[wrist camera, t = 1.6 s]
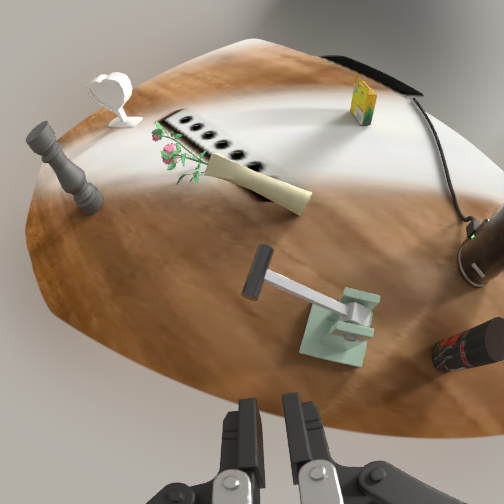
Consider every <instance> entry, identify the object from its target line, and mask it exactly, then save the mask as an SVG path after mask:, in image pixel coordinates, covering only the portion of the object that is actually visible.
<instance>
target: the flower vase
mask: <svg viewBox="0 0 504 504" xmlns="http://www.w3.org/2000/svg"><path fill="white" fill-rule="evenodd" d="M156 126H157V128H158V129H155V130H154V131H152V132H151V133H153V135H152V137H153V140H155V142H156V141H158V140H160V139H161V138H162V136H163V134H162V133H164V132H162V130H164V129H163V127H162V126H161V125H160V124H159V123H158V122H156ZM164 131H165V130H164ZM165 132H166V131H165ZM167 135H168V134H167ZM172 136H173V131H171V137H172ZM181 136H183V135H181V134H177V135H176V136H174V137H175V139H173V138H170V137H169V136H168V137H167V136H163V137H167V138H170V139H172V140H174V141H176V142H177V143H179V142H178V141H177V140H176V139H178V138H180V137H181ZM177 143H175V144H173V143H171V145H169V144H168V145H167V146H166V147H164V150H163V151H161V154H162V159H163V162H164V163H165V164H166V165H167V164H168V168H167V170H172V169H174V168H175V166H176V163H174V162H177V159H178V158H181V157H182V159H181V160H182V163H183V166H184V164H185V158H187V159H190V160H194V161H197V162H199V163H200V164H201V163H203V164H206V165H208V166H207V168H206V171H204V172H205V174H204V175H206V176H212V177H216V178H220V179H224V180H227V181H229V182H232V183H235V184H237V185H240V186H243V187H245V188H248V189H251V190H253V191H255V192H257V193H258V194H260V195H262V196H264V197H266V198H268V199H270V200H272V201H274V202H275V203H277V204H279V205H281V206H283V207H285V208H286V209H288V210H290V211H292V212H294V213H296V214H297V215H299V216H301V215H302V214H303V212H304V209H305V207H306V205H307V203H308V201H309V198H310V196H311V193H312V192H309V191H306V190H303V189H300V188H298V187H295V186H292V185H290V184H287V183H284V182H282V181H279V180H276V179H274V178H271V177H268V176H265V175H263V174H260V173H257V172H255V171H253V170H251V169H249V168H246V167H244V166H242V165H240V164H238V163H236V162H234V161H231V160H229V159H228V158H226V157H225V156H223V155H222V154H220V153H212V155H211V158H210V160H209V163H205V162H203V161H202V160H201V158H202V157H203V155H204V154H205V153H206V151H204V152H203V153H201V155H200V159H199V158H198V157H196V156H195V155H194V154H192V153H191V152H190V151H189V150H187V149H186V148H185V147H184V146H183V145H182V144H181V143H179V144H180V145H181V146H182V147H183V148H184V149H186V150H187V151H188V152H189V153H191V154H192V155H193V156H194V157H196V158H197V159H198V160H196V159H195V158H194V159H193V157H192V158H189V157H186V156H185V154H186V153H185V154H182V155H178V154H179V153H180V152H181V149H180V147H179V145H178V144H177ZM187 155H188V154H187ZM176 156H177V158H176ZM179 156H180V157H179ZM199 160H200V161H199ZM178 162H179V161H178ZM200 164H198V166H197V168H196V169H198V168H200ZM196 169H195V170H196ZM198 172H199V171H196V172H195V173H194V177H193V178H194V179H195V181H196V182H197V183H198V176H201V175H198ZM201 173H202V174H203V172H201ZM188 175H189V174H188ZM184 176H186V174H183V175H182V176H181V177H180V178H179V180H178V182H177V184H178V183H179V181H180V180H181V179H182V178H183V177H184ZM193 178H192V179H193ZM192 179H191V180H192ZM191 180H190V182H191ZM177 184H176V185H177Z"/></svg>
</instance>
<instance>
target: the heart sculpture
mask: <svg viewBox="0 0 504 504" xmlns="http://www.w3.org/2000/svg"><path fill="white" fill-rule="evenodd" d="M86 88H87V90H88V93H89V95H90V96H91V98H92V99H93V100H94V101H96V102H97V103H98V104H99V105H101V106H102V107H104V108H106V109H108V110H110V111H112V112H114V113H116V114H117V116H118V117H117V118H115V119H114V120H112V121H111V122H110V124H109V126H108V127H132V128H134V127H135V126H137V125H138V124H139V123H140V122H141V121H142V119H143V117H127V116H126V114H125V112H124V110H123V108H122V106H123V105H124V104H125V103H126V102H127V101H128V100H129V98H130V96H131V94H132V86H131V82H130V80H129V78H128V76H127V75H125V74H123V73H118V72H113V73H111V74H110V75H108V76H107V75H103V74H102V75H99V76H97V77H96V78H95V79H93V80H92V81H91V82H90V83H89V84H88V85H87V87H86Z"/></svg>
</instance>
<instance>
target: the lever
mask: <svg viewBox="0 0 504 504" xmlns="http://www.w3.org/2000/svg"><path fill="white" fill-rule="evenodd" d="M273 252H274V249H273V248H272V247H271V246H269V245H266V244H260V245H258V248H257V251H256V254H255V256H254V259H253V262H252V265H251V268H250V271H249V273H248V276H247V279H246V282H245V285H244V287H243V290H242V293H241V296H243V297H244V298H246V299H249V300H252V301H257V300H258V298H259V295H260V292H261V289H262V286H263V283H264V282H265V283H267V284H269V285H271V286H274V287H276V288H278V289H280V290H283V291H285V292H287V293H289V294H292V295H294V296H296V297H299V298H301V299H303V300H305V301H308V302H310V303H312V304H315V305H317V306H319V307H322V308H324V309H326V310H328V311H331V312H333V313H335V314H338V315H340V318H339V321H342V322H347V323H351V324H355V325H359V326H363V327H368V325H369V320H370V315H371V309H369V308H367V307H365V306H363V305H361V304H359V303H356V302H353V303H348V304H342V303H340V302H338V301H336V300H334V299H332V298H329V297H327V296H325V295H323V294H321V293H318V292H316V291H314V290H312V289H310V288H308V287H305V286H303V285H301V284H299V283H297V282H295V281H292V280H290V279H288V278H286V277H284V276H282V275H280V274H277V273H275V272H273V271H271V270H269V269H268V267H269V264H270V261H271V258H272V255H273Z"/></svg>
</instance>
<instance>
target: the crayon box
mask: <svg viewBox="0 0 504 504" xmlns="http://www.w3.org/2000/svg"><path fill="white" fill-rule="evenodd" d="M376 98H377V95H376V93H375V92H374V91H373V90H372V89H371V88H370V87H369V86H368V85H367V84H366V83H365V82H364V81H362V80H361V79H360V78H359V77H358V76H357V75H356V78H355V83H354V90H353V97H352V103H351V109H350V111H351V112H352V113H353V115H354V116H355V118H356V119H357V120H358V122H359V123H360V125H361V126H366V125H371V121H372V116H373V112H374V108H375V103H376Z"/></svg>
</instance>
